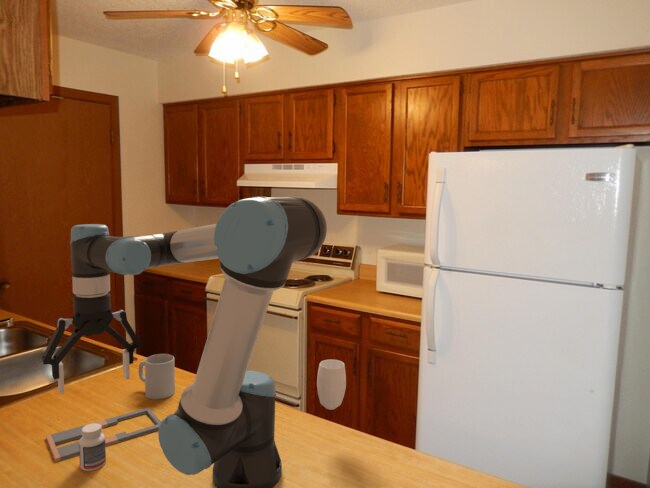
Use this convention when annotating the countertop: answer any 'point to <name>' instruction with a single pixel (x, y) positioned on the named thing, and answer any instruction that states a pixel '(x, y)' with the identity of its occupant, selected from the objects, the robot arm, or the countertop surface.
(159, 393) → the mug
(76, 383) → the countertop surface
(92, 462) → the pill bottle
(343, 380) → the cup
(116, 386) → the countertop surface
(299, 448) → the countertop surface
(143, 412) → the keyhole board
